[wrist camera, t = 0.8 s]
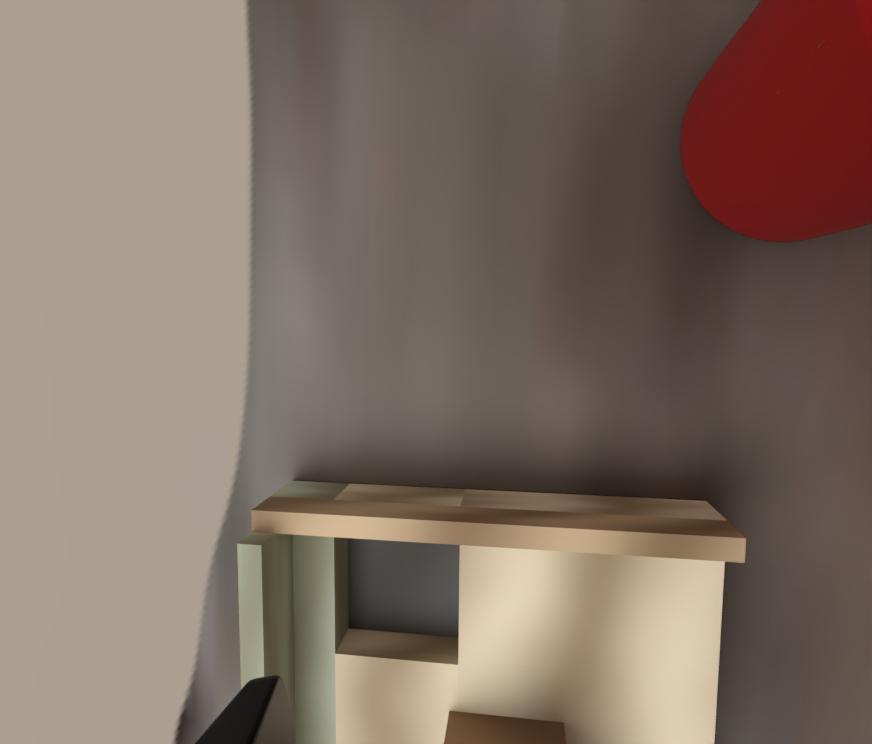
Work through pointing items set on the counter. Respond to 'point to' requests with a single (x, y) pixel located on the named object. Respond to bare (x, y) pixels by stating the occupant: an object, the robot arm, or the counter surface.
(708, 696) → the trap track
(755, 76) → the beverage can
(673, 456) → the counter surface
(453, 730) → the walnut block
